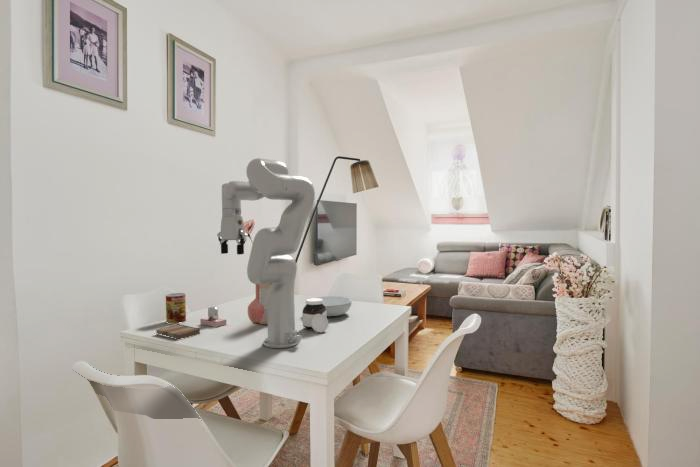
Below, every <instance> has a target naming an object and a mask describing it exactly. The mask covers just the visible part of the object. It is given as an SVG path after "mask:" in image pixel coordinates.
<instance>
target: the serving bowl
mask: <svg viewBox="0 0 700 467" xmlns="http://www.w3.org/2000/svg"><path fill="white" fill-rule="evenodd" d="M314 298H320V299H323V305H324V306H325V307H326V311H327V316H329V317H328V318H330V316H335V317H338V316H341V315H344V314H346V313H347V312H348V311H349V310H350V308H351V306H352V299H351V298H349V297H347V296H340V295H339V296H338V295H325V296H324V295H321V296H316V297H314Z"/></svg>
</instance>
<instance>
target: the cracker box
mask: <svg viewBox="0 0 700 467" xmlns="http://www.w3.org/2000/svg"><path fill="white" fill-rule="evenodd" d="M270 285H271V283H267V284H258V286H259V287H258V288H259V289H258V290H259V292H258V296H259V299H258V301H259V302H258V304H259V303H261V304H262V305H263V306H264V314H263V318H262V320H261V321H260V322H259V325H265V326H268V317H267V293H268V290H269V288H270Z"/></svg>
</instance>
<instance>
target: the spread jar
mask: <svg viewBox="0 0 700 467" xmlns="http://www.w3.org/2000/svg"><path fill="white" fill-rule="evenodd" d="M301 317H302V318H301V320H302V326H303V328H305V329H306V330H308V331H314V332H316V333H319V332H320V333H323V332H326V330H328V327H329V320H328V317H327V311H326V307H325V306H324V305H323V299H320V298H315V297H312V298H307V299H306V300H305V305H304V307H303V309H302V313H301Z"/></svg>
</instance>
